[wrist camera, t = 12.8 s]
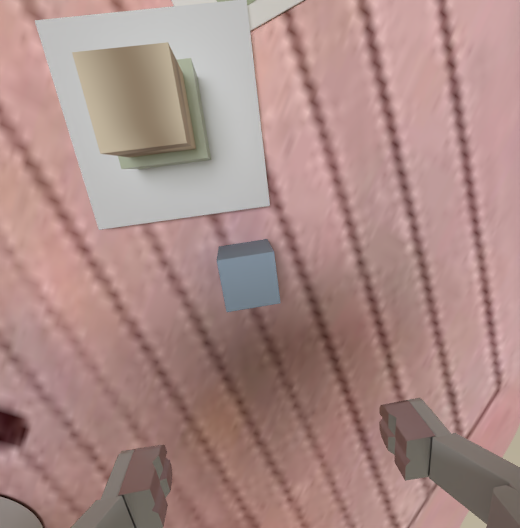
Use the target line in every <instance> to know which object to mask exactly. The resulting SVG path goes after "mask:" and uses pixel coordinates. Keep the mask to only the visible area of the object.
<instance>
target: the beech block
mask: <svg viewBox="0 0 520 528" xmlns="http://www.w3.org/2000/svg"><path fill="white" fill-rule="evenodd" d="M72 54H73V58H74V61H75V65H76V68H77V72H78V76H79V79H80V83H81V86H82V90H83V94H84V97H85V101H86V104H87V108H88V111H89V115H90V119H91V122H92V126H93V129H94V133H95V137H96V140H97V144H98V147H99V151H100V154H106V155H114V156H121V157H137V156H145V155H153V154H161V153H169V152H177V151H185V150H193V149H196V144H195V138H194V133H193V127H192V122H191V116H190V111H189V105H188V99H187V94H186V88H185V83H184V77H183V72H182V70H181V68H180V66H179V64H178V62H177V60H176V58H175V56H174V54H173V52H172V50H171V48H170V45H169V43H168V42H166V43H157V44H147V45H138V46H128V47H119V48H109V49H99V50H90V51H80V52H72Z"/></svg>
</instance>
